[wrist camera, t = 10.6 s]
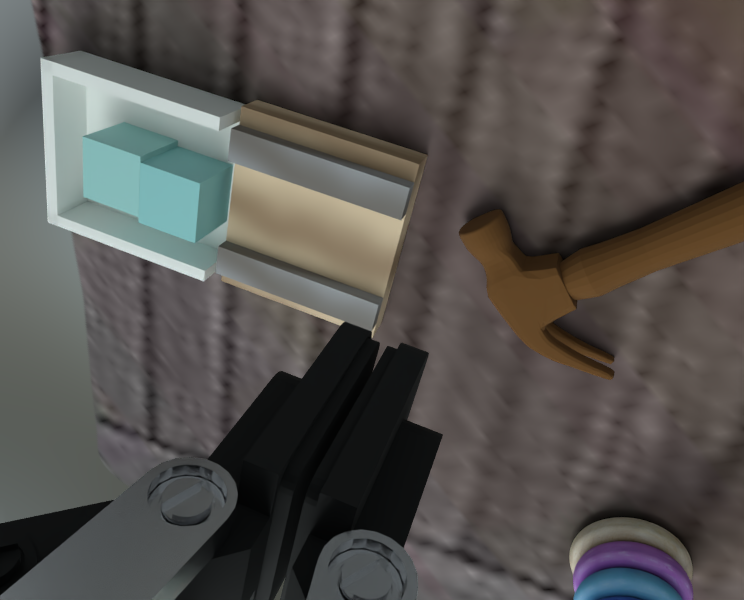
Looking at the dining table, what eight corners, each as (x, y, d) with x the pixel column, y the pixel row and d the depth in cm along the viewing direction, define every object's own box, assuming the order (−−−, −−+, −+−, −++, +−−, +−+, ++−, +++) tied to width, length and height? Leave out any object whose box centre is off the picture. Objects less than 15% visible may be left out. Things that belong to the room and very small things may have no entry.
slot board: (257, 99, 40) (232, 109, 37) (427, 155, 38) (414, 169, 35) (235, 268, 46) (213, 287, 43) (381, 322, 44) (367, 345, 42)
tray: (80, 50, 42) (40, 57, 39) (248, 105, 40) (219, 117, 37) (82, 205, 48) (47, 222, 45) (230, 260, 46) (203, 281, 43)
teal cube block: (177, 146, 42) (140, 162, 39) (233, 165, 42) (200, 183, 38) (174, 202, 44) (138, 222, 41) (227, 221, 44) (194, 243, 40)
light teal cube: (124, 122, 43) (82, 136, 39) (178, 140, 42) (140, 156, 39) (123, 178, 45) (83, 196, 41) (174, 197, 44) (138, 217, 41)
